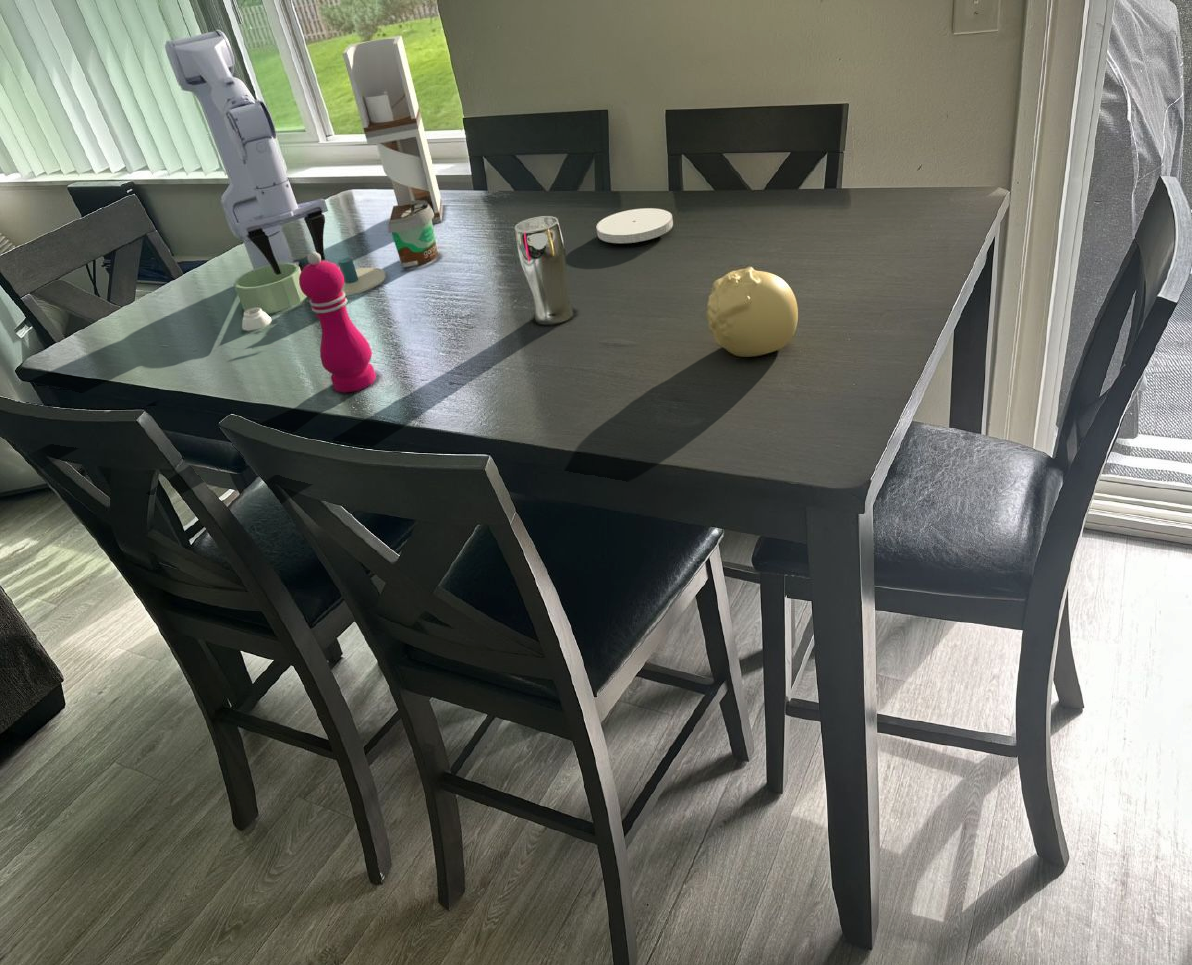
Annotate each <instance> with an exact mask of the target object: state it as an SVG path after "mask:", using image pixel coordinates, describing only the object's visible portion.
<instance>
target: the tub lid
mask: <svg viewBox="0 0 1192 965" xmlns="http://www.w3.org/2000/svg"><path fill="white" fill-rule="evenodd" d="M337 264H338V267H339V269H340V270H341V272H342V274H343V276H344V286H343V288H342V291H343V292H344V293H345V297H350V296H354V295H359V294H361V293H365V292H367V291H369V290H371V289H374V288H375V287H377V286H380V284H382V283H383V282H384V281H385V279H386V277H387V273H386V272H385V270H383V269H381V268H379V267H359V268H356V267H355V263H354V261H353V258H352V257H343V258H340V259H339V260H338V261H337Z"/></svg>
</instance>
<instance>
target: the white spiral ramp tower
mask: <svg viewBox="0 0 1192 965" xmlns="http://www.w3.org/2000/svg"><path fill="white" fill-rule="evenodd" d="M342 57H343V61H344V65H345V68H346V72H347V74H348V78H349V82H350V85H351V89H352V92H353V97H354V101H355V104H356V107H357V111H358V115H359V118H360V122H361V125H362V128H363V132H364V137H365V139H366V143H367V146H372V145H376V148H377V150H378V154H379V159H380V161H381V166H382V169H383V172H384V173H385V175H386V176H387V177H388V179H390V182H391V185H392V189H393V193H394V196H395V199H396V200H395V201H396V203H397V205H393V206H392V210H391V214H390V217H389V221H390V220H396V219H397V218H398V216H399V215H400V213H401V212H403V211H406V210H407V209H408V208H409V207H410V206H411V204H410V201H412V200H420V201H425V202H427V203H428V204H429V205H430V207H431V208H432V210H433V213H434V217H433V218H432V225H433V224H438V223H442V220H443V212H444V211H443V210H444V204H443V201H442V198H441V197H442V196H441V192H440V189H439V188H440V187H439V185H438V180H437V177H436V172H435V168H434V164H433V160H432V156H431V152H430V148H429V143H428V140H427V135H426V131H425V126H424V122H423V119H422V114H421V110H420V106H419V103H418V98H417V94H416V90H415V86H414V81H413V78H412V74H411V70H410V65H409V61H408V57H407V53H406V49H405V45H404V41H403V37H402V35H394V36H389V37H384V38H378V39H372V40H368V41H362V42H357V43H351V44H348V46H347V47H346V48H345V49H344V50H343V52H342Z"/></svg>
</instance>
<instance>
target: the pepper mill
mask: <svg viewBox="0 0 1192 965" xmlns="http://www.w3.org/2000/svg"><path fill="white" fill-rule="evenodd" d="M307 261H308V263H309V264H307V265H305V266H304V268H303V269H302V270H301V273H300V276H299V284H300V288H301V290H302V292H303V293H304V294H305V295H306V296H307V297H306V298H309V299H310V300H309V305H310V306H311V311H313V313H316V316H317V318H318V321H319V323H320V327H321V340H320V348H319V357H320V361H321V364H322V367H323V369H325V371H327V372H329V373H330V374H331V375H330V381H331V383H332V386H333V389H334V390H335V391H336V392H339V393H353V392H358V391H360V390H363V389H365V388H367V387H369V386H372V384H373V383H374V382H375V380H376V379H377V374H376V371H375V369H374V365H372V364H371V363H370V362H371V359H372V355H373V351H372V349H371V346H370V344H369V341H368V340H367V339H366V337H365V336H364V335H363V334H362V333H361V331H360V330H359V329H358V328H357V327H356V326H355V324H354V323H353V321H352V320H351V318H350V316H349V313H348V311H347V306H346V305H347V304H348V299H347V296H345V293H344V292H343V291H342V288H343V286H344V276H343V274H342V272H341V270H340V267H339V265H338V266H337V264H336V263H333V262H331V261H328V260H322V261H321V256H320V255H319V253H317V252H316V251H311V252H309V253H308V255H307Z"/></svg>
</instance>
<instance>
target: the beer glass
mask: <svg viewBox="0 0 1192 965" xmlns="http://www.w3.org/2000/svg"><path fill="white" fill-rule="evenodd" d="M514 231H515V238H516V245H517V246H516V247H517V251H518V257H519V261H520V265H521V267H522V271H523V274H524V277H525V278H526V282H527V284H528V286H529V289H530V291H531V294H532V298H533V304H534V320H535V322H536V323H537V324H539V325H543V326H552V325H559V324H561V323H564V322H567V321H569V320H570V319H571V318H572V317H573V315H574V310H573V307H572V305H571V302H570V300H569V295H568V290H567V256H566V255H567V254H566V248H565V242H564V238H563V234H562V229H561V227H560V223H559V218H558V217H556V216H552V215H542V216H535V217H531V218H527V219H524V220H522V221H519V222H518V223H517V224H515V226H514Z"/></svg>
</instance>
